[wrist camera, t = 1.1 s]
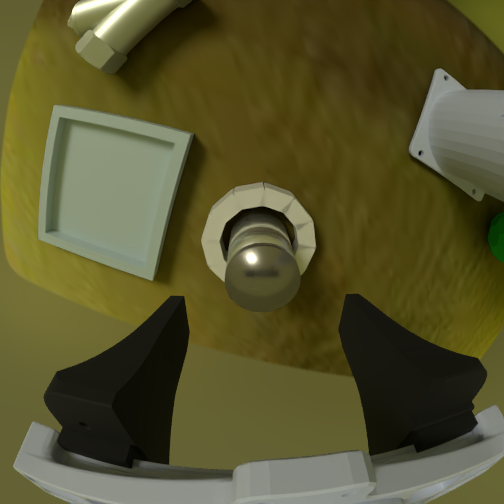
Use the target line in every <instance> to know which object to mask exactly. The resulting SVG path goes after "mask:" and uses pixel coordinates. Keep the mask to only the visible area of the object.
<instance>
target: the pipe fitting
mask: <svg viewBox="0 0 504 504" xmlns="http://www.w3.org/2000/svg"><path fill="white" fill-rule="evenodd" d="M191 1H193V0H81V1H79V2H78V3H77V4H76V5H75V6H74V8H73V11H72V14H71V16H70V19H69V20H68V27H69V28H71V29H72V30H74V31H75V33H76V34H77V35H78V36H80V37H82V38H81V39H80V40H79V41H78V43H77V44H76V51H77V53H78V54H79V55H80V56H81V57H82V58H83V59H85V60H86V61H87V62H88V63H90V64H91V65H93V66H94V67H96V68H97V69H99V70H101V71H103V72H105V73H109V74H115V73H116V72H117V70H118V69H119V68H120V67H121V66H122V65H123V64H124V63H125V62H126V61H127V60H128V59H127V54H128V53H129V52H130V51H131V50H132V49H133V48H134V47H135V46H136V45H137V44H138V43H139V42H140V41H141V40H142V39H143V38H144V37H145V36H146V35H147V34H148V33H149V32H150V31H151V30H152V29H153V28H154V27H155V26H156V25H158V24H159V23H160V22H161V21H162V20H163V19H164V18H165V17H167V16H168V15H169V14H170V13H171V12H173V11H174V10H175V9H176V8H177V7H181V8H184V7H185V6H186V5H187V4H189V3H190V2H191Z"/></svg>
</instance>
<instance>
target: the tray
mask: <svg viewBox="0 0 504 504" xmlns="http://www.w3.org/2000/svg"><path fill="white" fill-rule="evenodd" d="M193 137H194V134H193V133H190V132H186V131H183V130H179V129H175V128H172V127H168V126H164V125H160V124H156V123H152V122H148V121H144V120H139V119H135V118H131V117H126V116H122V115H117V114H112V113H107V112H102V111H97V110H91V109H86V108H80V107H74V106H67V105H54V108H53V112H52V117H51V121H50V126H49V131H48V137H47V142H46V148H45V155H44V162H43V170H42V179H41V190H40V203H39V228H38V239H40V240H42V241H45V242H47V243H50V244H52V245H55V246H57V247H60V248H62V249H65V250H67V251H70V252H73V253H75V254H78V255H81V256H83V257H86V258H89V259H91V260H94V261H97V262H99V263H102V264H105V265H108V266H111V267H113V268H116V269H119V270H122V271H125V272H128V273H131V274H133V275H136V276H139V277H142V278H145V279H148V280H151V281H153V279H154V277H155V275H156V274H157V271H158V267H159V262H160V258H161V253H162V249H163V244H164V240H165V236H166V232H167V228H168V224H169V220H170V216H171V212H172V208H173V204H174V201H175V197H176V193H177V190H178V186H179V183H180V179H181V176H182V172H183V169H184V165H185V162H186V159H187V156H188V152H189V149H190V146H191V143H192V140H193Z"/></svg>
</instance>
